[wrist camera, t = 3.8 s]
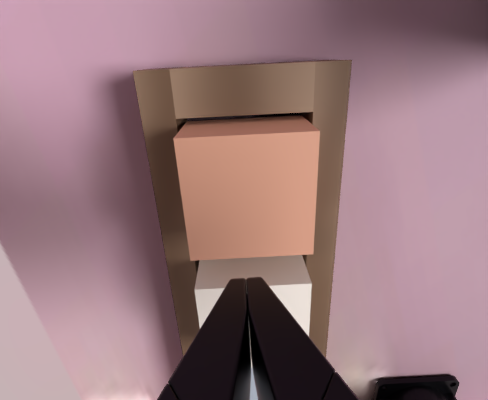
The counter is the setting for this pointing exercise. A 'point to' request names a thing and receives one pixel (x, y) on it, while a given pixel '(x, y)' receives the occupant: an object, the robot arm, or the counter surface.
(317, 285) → the wooden compartment tray
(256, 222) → the button terracotta
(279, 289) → the button cream
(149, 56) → the counter surface
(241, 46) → the counter surface
